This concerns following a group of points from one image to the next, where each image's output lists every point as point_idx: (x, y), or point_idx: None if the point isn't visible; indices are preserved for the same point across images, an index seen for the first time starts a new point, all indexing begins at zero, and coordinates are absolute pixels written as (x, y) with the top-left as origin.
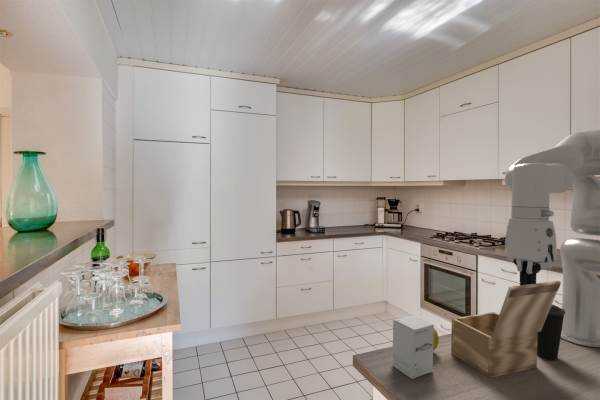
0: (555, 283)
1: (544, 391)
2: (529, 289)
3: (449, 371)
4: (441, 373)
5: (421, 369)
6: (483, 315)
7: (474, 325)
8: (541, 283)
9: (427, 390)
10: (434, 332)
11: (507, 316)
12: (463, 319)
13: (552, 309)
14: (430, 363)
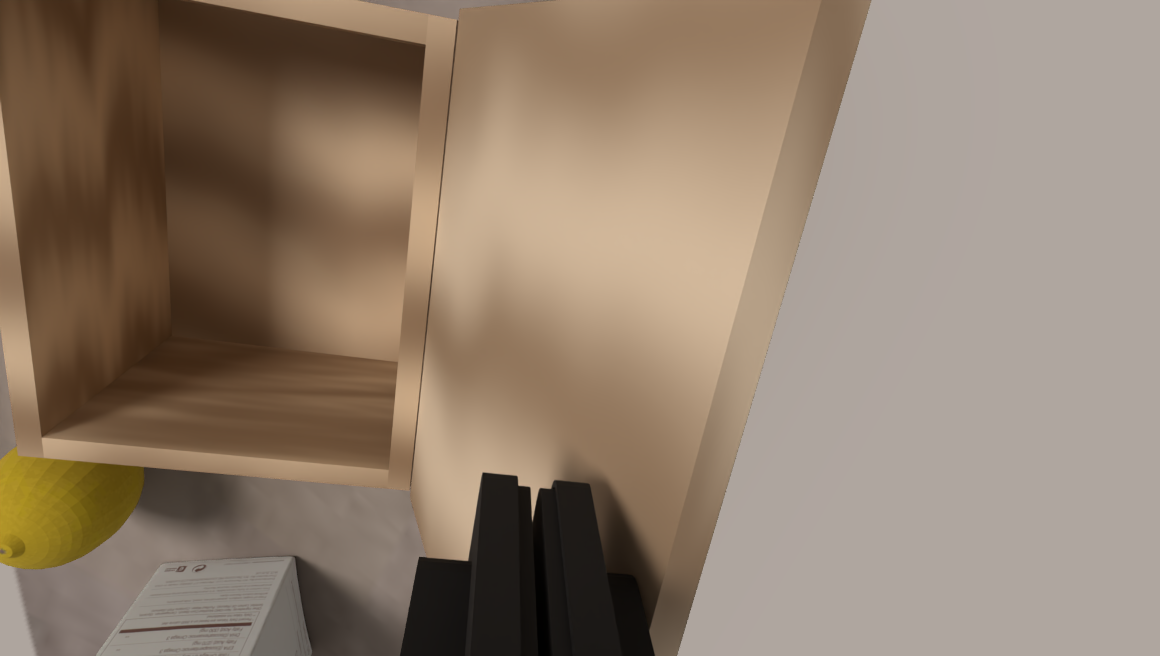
0: (805, 180)
1: None
2: None
3: (318, 488)
4: (318, 529)
5: (298, 638)
6: (8, 128)
7: (72, 221)
8: (691, 523)
9: (392, 647)
10: (79, 524)
11: None
12: (40, 359)
13: None
14: (285, 602)
